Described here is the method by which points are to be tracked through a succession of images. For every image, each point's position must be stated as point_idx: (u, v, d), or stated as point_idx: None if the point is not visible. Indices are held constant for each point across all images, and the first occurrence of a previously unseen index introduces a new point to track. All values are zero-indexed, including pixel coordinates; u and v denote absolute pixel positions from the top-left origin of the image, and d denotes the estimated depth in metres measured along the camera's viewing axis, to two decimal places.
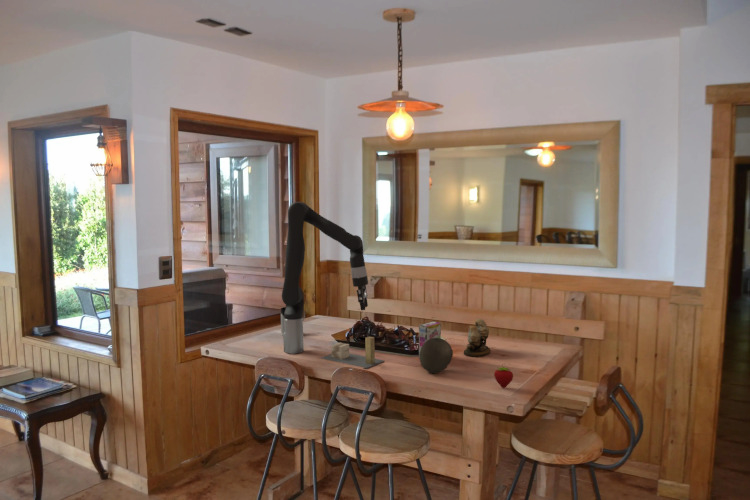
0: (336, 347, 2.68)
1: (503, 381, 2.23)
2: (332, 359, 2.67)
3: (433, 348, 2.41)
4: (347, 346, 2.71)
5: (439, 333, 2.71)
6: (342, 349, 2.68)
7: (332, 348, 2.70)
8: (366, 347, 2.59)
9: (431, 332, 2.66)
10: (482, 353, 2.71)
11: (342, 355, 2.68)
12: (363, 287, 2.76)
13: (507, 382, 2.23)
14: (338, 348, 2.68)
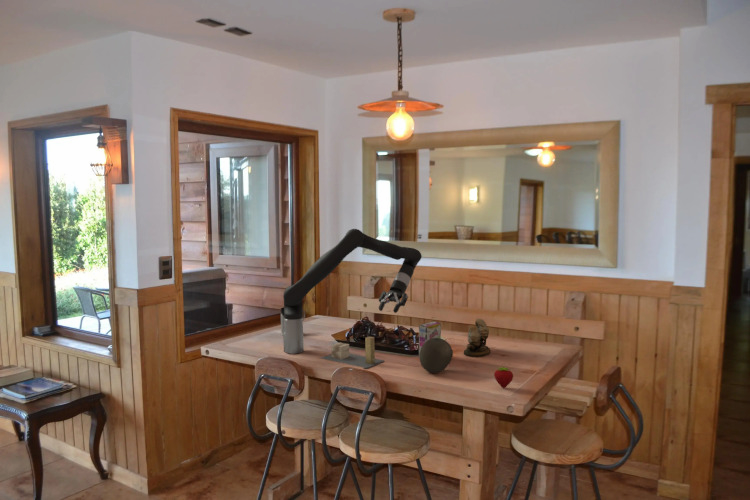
0: (336, 347, 2.68)
1: (503, 381, 2.23)
2: (332, 359, 2.67)
3: (433, 348, 2.41)
4: (347, 346, 2.71)
5: (439, 333, 2.71)
6: (342, 349, 2.68)
7: (332, 348, 2.70)
8: (366, 347, 2.59)
9: (431, 332, 2.66)
10: (482, 353, 2.71)
11: (342, 355, 2.68)
12: None
13: (507, 382, 2.23)
14: (338, 348, 2.68)
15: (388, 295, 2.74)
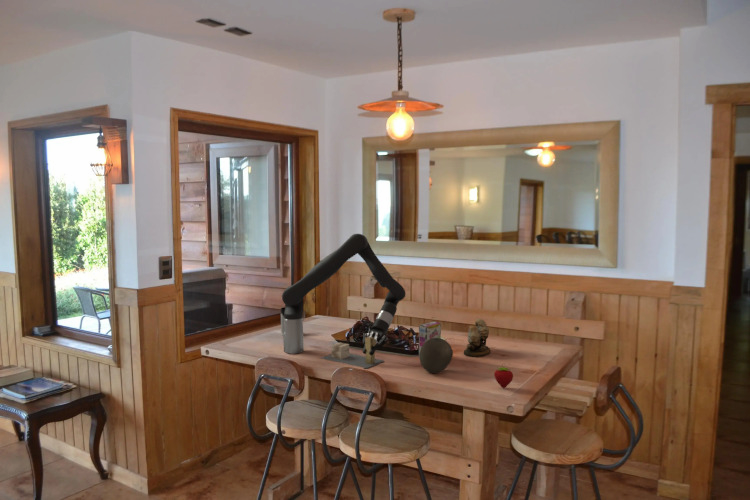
0: (336, 347, 2.68)
1: (503, 381, 2.23)
2: (332, 359, 2.67)
3: (433, 348, 2.41)
4: (347, 346, 2.71)
5: (439, 333, 2.71)
6: (342, 349, 2.68)
7: (332, 348, 2.70)
8: (366, 347, 2.59)
9: (431, 332, 2.66)
10: (482, 353, 2.71)
11: (342, 355, 2.68)
12: None
13: (507, 382, 2.23)
14: (338, 348, 2.68)
15: (370, 335, 2.62)
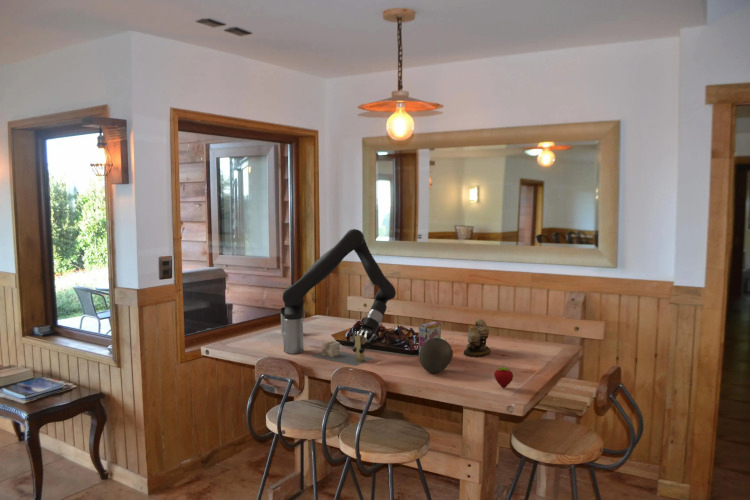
0: (327, 345, 2.72)
1: (503, 381, 2.23)
2: (323, 357, 2.71)
3: (433, 348, 2.41)
4: (337, 344, 2.74)
5: (439, 333, 2.71)
6: (333, 347, 2.71)
7: (323, 346, 2.74)
8: (356, 345, 2.63)
9: (431, 332, 2.66)
10: (482, 353, 2.71)
11: (332, 353, 2.71)
12: None
13: (507, 382, 2.23)
14: (329, 346, 2.71)
15: (360, 334, 2.66)
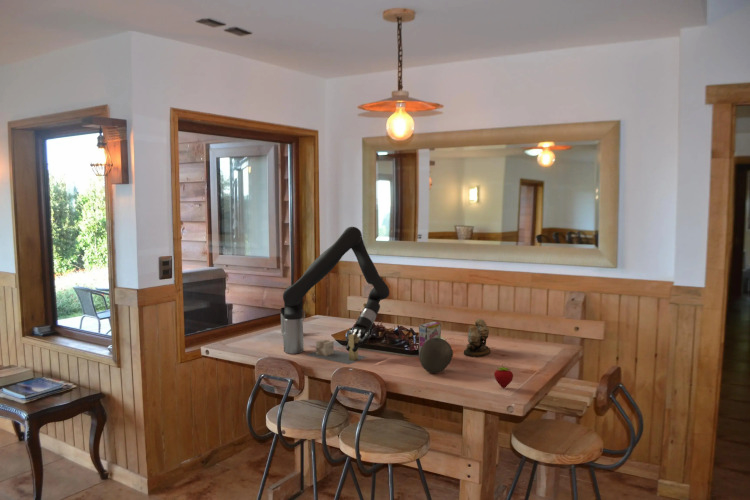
0: (320, 344, 2.74)
1: (503, 381, 2.23)
2: (317, 356, 2.73)
3: (433, 348, 2.41)
4: (331, 343, 2.76)
5: (439, 333, 2.71)
6: (326, 346, 2.74)
7: (317, 345, 2.76)
8: (349, 344, 2.65)
9: (431, 332, 2.66)
10: (482, 353, 2.71)
11: (326, 352, 2.74)
12: None
13: (507, 382, 2.23)
14: (322, 345, 2.74)
15: (354, 333, 2.68)
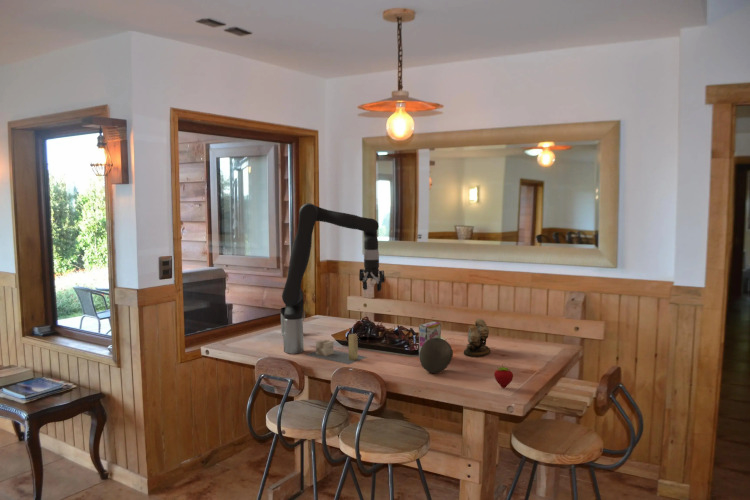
0: (320, 344, 2.74)
1: (503, 381, 2.23)
2: (316, 356, 2.73)
3: (433, 348, 2.41)
4: (331, 343, 2.77)
5: (439, 333, 2.71)
6: (326, 346, 2.74)
7: (317, 345, 2.76)
8: (349, 344, 2.65)
9: (431, 332, 2.66)
10: (482, 353, 2.71)
11: (326, 352, 2.74)
12: None
13: (507, 382, 2.23)
14: (322, 345, 2.74)
15: (366, 275, 2.83)
